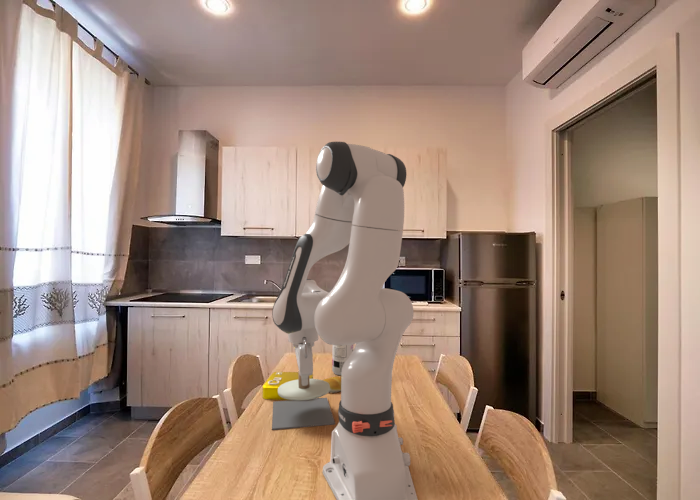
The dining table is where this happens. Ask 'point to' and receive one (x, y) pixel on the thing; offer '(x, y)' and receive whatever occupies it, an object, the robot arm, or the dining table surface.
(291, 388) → the lid
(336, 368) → the supplement can
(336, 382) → the bread roll
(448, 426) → the dining table surface
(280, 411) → the mat
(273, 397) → the element tile
